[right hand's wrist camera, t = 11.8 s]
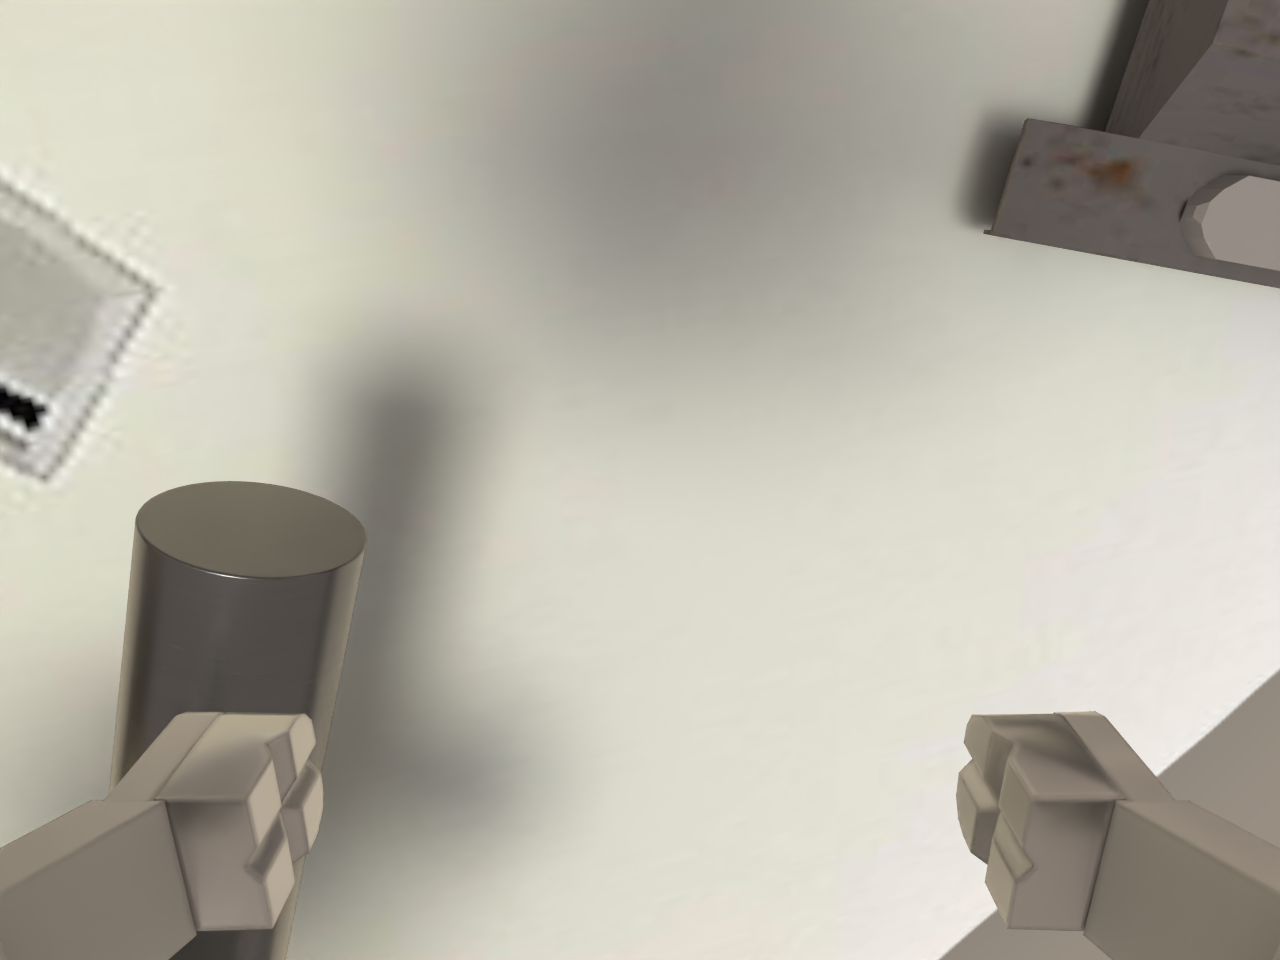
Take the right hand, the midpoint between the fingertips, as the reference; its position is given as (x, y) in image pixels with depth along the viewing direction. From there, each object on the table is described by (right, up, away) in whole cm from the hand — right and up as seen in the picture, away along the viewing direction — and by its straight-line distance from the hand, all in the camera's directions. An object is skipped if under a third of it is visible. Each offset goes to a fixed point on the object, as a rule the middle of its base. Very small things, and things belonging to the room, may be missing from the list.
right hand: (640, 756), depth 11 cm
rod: (-14, -8, +21) cm, 27 cm away
